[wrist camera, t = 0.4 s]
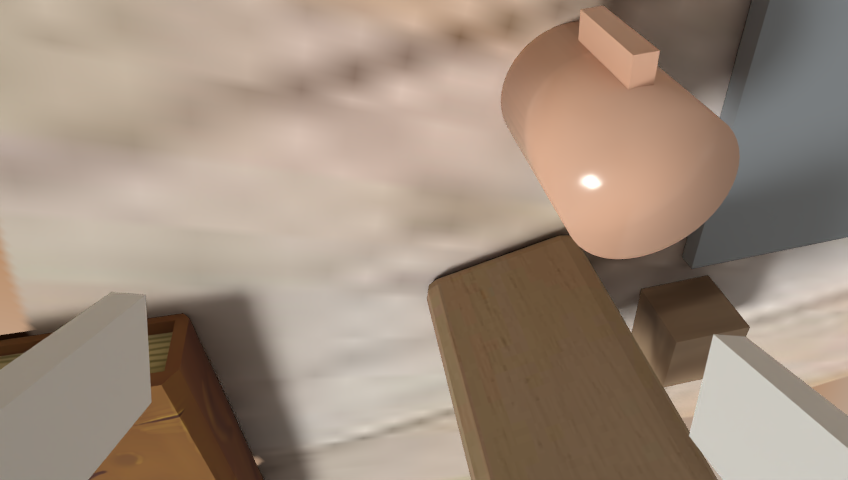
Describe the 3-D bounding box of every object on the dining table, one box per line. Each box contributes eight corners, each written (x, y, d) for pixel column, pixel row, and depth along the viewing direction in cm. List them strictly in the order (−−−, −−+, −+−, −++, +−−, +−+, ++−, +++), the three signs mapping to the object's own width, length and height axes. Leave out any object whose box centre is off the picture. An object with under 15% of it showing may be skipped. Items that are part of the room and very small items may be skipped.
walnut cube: (640, 288, 40) (676, 342, 36) (707, 274, 40) (749, 327, 37) (630, 333, 43) (662, 387, 40) (693, 320, 44) (730, 372, 40)
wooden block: (461, 365, 42) (553, 700, 27) (419, 278, 36) (511, 657, 21) (589, 320, 41) (758, 640, 26) (571, 223, 35) (782, 576, 20)
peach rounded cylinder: (624, 137, 31) (715, 241, 25) (501, 160, 31) (559, 272, 24) (648, -20, 26) (773, 58, 19) (499, 5, 25) (573, 94, 19)
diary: (271, 483, 49) (269, 553, 45) (46, 524, 47) (21, 601, 43) (191, 306, 34) (176, 386, 30) (-145, 355, 32) (-213, 448, 28)
